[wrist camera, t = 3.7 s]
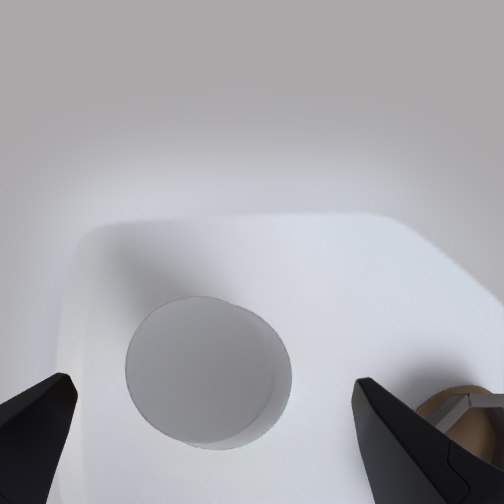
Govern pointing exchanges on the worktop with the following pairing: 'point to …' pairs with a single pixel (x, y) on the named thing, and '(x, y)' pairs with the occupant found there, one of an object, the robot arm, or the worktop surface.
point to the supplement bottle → (208, 373)
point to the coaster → (470, 420)
